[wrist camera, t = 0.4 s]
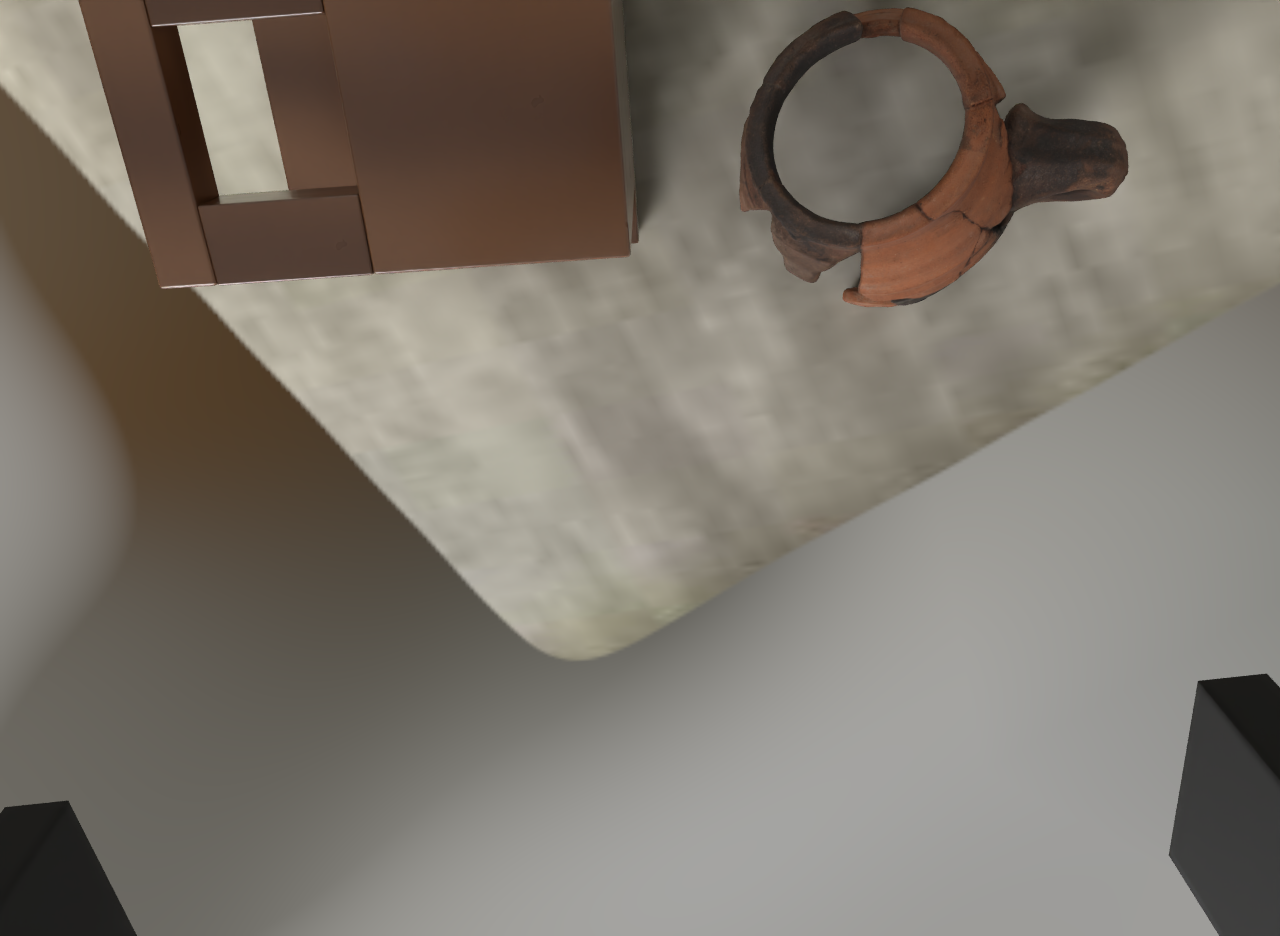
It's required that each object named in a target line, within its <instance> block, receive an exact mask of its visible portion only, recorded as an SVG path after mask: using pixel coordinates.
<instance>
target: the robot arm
mask: <svg viewBox="0 0 1280 936" xmlns="http://www.w3.org/2000/svg"><path fill="white" fill-rule="evenodd" d="M1169 856H1170V858H1171V859H1172V861H1173V863H1174V864H1175V866H1176V867H1177V869H1178V870H1179V872H1180V874H1181V875H1182V877H1183V878H1184V880H1185V882H1186V883H1187V885H1188V886H1189V888H1190V890H1191V891H1192V893H1193V894H1194V896H1195V897H1196V899H1197V901H1198V902H1199V904H1200V906H1201V907H1202V909H1203V910H1204V912H1205V913H1206V915H1207V917H1208V918H1209V920H1210V921H1211V923H1212V925H1213V926H1214V928H1215V930H1216V931H1217V933H1218V934H1219V936H1280V687H1279V686H1278V685H1277V684H1276V683H1275V682H1274V681H1273V680H1272V679H1271V678H1270V677H1269V675H1267V674H1259V675H1249V676H1240V677H1231V678H1221V679H1212V680H1202V681H1198V684H1197V690H1196V697H1195V703H1194V708H1193V714H1192V720H1191V726H1190V732H1189V739H1188V744H1187V751H1186V756H1185V762H1184V768H1183V774H1182V780H1181V786H1180V792H1179V798H1178V804H1177V809H1176V815H1175V821H1174V827H1173V833H1172V839H1171V845H1170V852H1169ZM0 936H137V935H136V933H135V931H134V929H133V927H132V925H131V923H130V921H129V920H128V917H127V915H126V913H125V911H124V909H123V907H122V905H121V904H120V902H119V900H118V898H117V896H116V894H115V892H114V890H113V888H112V886H111V884H110V882H109V880H108V878H107V876H106V874H105V872H104V870H103V868H102V866H101V864H100V862H99V860H98V859H97V856H96V854H95V852H94V850H93V849H92V847H91V845H90V843H89V841H88V839H87V837H86V835H85V833H84V831H83V829H82V827H81V825H80V823H79V821H78V819H77V817H76V815H75V813H74V811H73V809H72V807H71V805H70V803H69V801H60V802H51V803H42V804H32V805H22V806H13V807H5V808H4V809H3V811H2V812H1V813H0Z"/></svg>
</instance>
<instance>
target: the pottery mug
mask: <svg viewBox="0 0 1280 936" xmlns="http://www.w3.org/2000/svg"><path fill="white" fill-rule="evenodd" d="M878 36H897V37H901V38H902V39H903V40H904V41H907V42H910V43H913V44H916V45H918V46H921V47H923V48H925V49H927V50H928V51H930V52H931V53H933V54H934V55H936V56H937V57H938V58H939V59H940V60H941V61H942V62H943V63H944V64H945V65H946V66H947V67H948V68H949V70H950V71H951V73H952V74H953V76H954V78H955V79H956V81H957V83H958V86H959V88H960V91H961V94H962V100H963V105H964V109H965V126H964V132H963V137H962V141H961V143H960V146H959V150H958V152H957V155H956V157H955V159H954V161H953V163H952V164H951V166H950V168H949V169H948V171H947V172H946V174H945V175H944V176H943V178H942V179H941V180H940V181H939V183H938V184H937V185H936V186H935V187H934V188H933V189H932V190H931V191H930V192H929V193H928V194H927V195H925V196H924V197H923V198H922V199H920V200H919V201H918V202H917V203H915V204H913V205H911V206H910V207H908V208H906V209H904V210H902V211H901V212H898V213H896V214H894V215H891V216H888V217H885V218H882V219H877V220H872V221H866V222H862V223H859V224H856V223H845V222H838V221H834V220H829V219H826V218H823V217H821V216H818V215H816V214H814V213H813V212H811V211H809V210H808V209H806V208H805V207H803V206H802V205H801V204H799V203H798V202H797V201H796V200H795V199H794V198H793V196H792V195H791V194H790V193H789V192H788V191H787V190H786V188H785V187H784V185H782V183H781V180H780V178H779V175H778V172H777V169H776V165H775V161H774V153H773V139H774V131H775V125H776V121H777V118H778V114H779V112H780V109H781V107H782V105H783V102H784V100H785V99H786V97H787V96H788V94H789V93H790V91H791V90H792V89H793V87H794V86H795V84H796V83H797V82H798V80H799V79H800V78H801V77H802V76H803V75H804V74H805V72H806V71H807V70H808V69H809V68H810V67H811V66H813V65H814V64H815V63H816V62H817V61H819V60H820V59H822V58H824V57H826V56H827V55H829V54H830V53H832V52H834V51H835V50H837V49H839V48H841V47H843V46H846V45H848V44H851V43H853V42H856V41H857V40H859V39H860V38H873V37H878ZM1005 97H1006V94H1005V91H1004V89H1003V87H1002V85H1001V83H1000V82H999V80H998V79H997V77H996V75H995V74H994V73H993V71H992V70H991V68H990V67H989V66H988V65H987V64H986V63H985V62H984V60H983V58H982V57H981V56H980V55H979V53H978V52H977V51H975V49H974V47H973V46H972V45H971V43H970V42H969V40H968V39H967V38H966V37H965V36H964V35H962V34H961V33H960V32H959V31H958V30H957V29H956V28H955V27H953V26H951V25H950V24H948V23H947V22H946V21H945V20H944V19H943V18H941V17H939V16H935V15H933V14H930V13H927V12H924V11H921V10H918V9H914V8H909V7H907V8H905V9H897V8H891V9H878V10H871V11H865V12H861V13H858V14H852V13H850V12H847V11H841V12H838V13H836V14H834V15H832V16H830V17H828V18H826V19H824V20H822V21H820V22H819V23H817V24H815V25H814V26H812V27H811V28H810V29H809V30H808V31H806V32H805V33H803V34H802V35H801V36H799V37H798V38H796V39H795V40H794V41H793V42H791V43H790V44H789V45H788V46H787V47H786V48H785V49H784V51H783V52H782V53H781V54H780V55H779V56H778V57H777V58H776V60H775V62H774V63H773V64H772V66H771V67H770V69H769V71H768V72H767V74H766V76H765V77H764V80H763V84H762V86H761V87H760V88H759V89H758V91H757V93H756V96H755V99H754V101H753V103H752V105H751V107H750V114H749V116H748V118H747V120H746V122H745V125H744V131H743V136H742V142H741V169H740V189H739V195H740V204H741V210H742V211H743V212H746V211H749V210H760V209H761V210H768V211H770V212H771V214H772V223H771V232H772V235H773V241H774V244H775V246H776V247H777V249H778V250H779V251H780V252H781V254H782V255H783V258H784V265H785V267H786V269H787V270H788V271H789V272H790V273H792V274H794V275H796V276H797V277H799V278H801V279H803V280H804V281H806V282H810V283H814V282H816V281H817V280H818V278H819V276H820V273H821V272H823V271H826V270H828V269H830V268H832V267H833V266H834V265H835V264H837V263H838V262H840V261H842V260H844V259H846V258H848V257H850V256H852V255H854V254H856V253H858V252H860V253H861V277H860V283H859V286H858V287H853V288H848V289H846V290H845V291H844V293H843V300H844V301H845V302H848V303H851V304H855V305H859V306H864V307H876V306H877V307H892V306H897V305H909V304H913V303H917V302H920V301H922V300H924V299H926V298H927V297H929V296H931V295H933V294H935V293H937V292H938V291H940V290H942V289H943V288H945V287H946V286H948V285H949V284H951V283H952V282H954V281H956V280H957V279H958V278H959V277H960V276H961V275H963V274H964V273H965V272H967V271H968V270H969V269H970V268H971V267H972V266H974V265H975V264H976V263H977V262H978V261H979V260H980V259H981V258H982V257H983V256H984V255H985V254H986V253H987V252H988V251H989V250H990V249H991V248H992V247H993V245H994V244H995V243H996V242H997V240H998V239H999V237H1000V236H1001V234H1002V233H1003V231H1004V229H1005V228H1006V226H1007V224H1008V223H1009V221H1010V219H1011V217H1012V216H1013V213H1014V212H1015V211H1017V210H1019V209H1020V208H1022V207H1025V206H1028V205H1030V204H1033V203H1037V202H1050V201H1082V200H1092V199H1101V198H1106V197H1110V196H1111V195H1112V194H1113V193H1114V192H1115V191H1116V190H1117V188H1118V187H1119V185H1120V184H1121V183H1122V182H1123V181H1124V179H1125V176H1126V175H1127V174H1128V153H1127V150H1126V144H1125V142H1124V141H1123V139H1122V138H1121V136H1120V134H1119V132H1118V131H1117V130H1116V129H1115V128H1114V127H1112V126H1111V125H1108V124H1106V123H1101V122H1097V121H1086V120H1079V119H1049V118H1045V117H1042V116H1039V115H1037V114H1036V113H1034V112H1033V111H1032V110H1031V109H1030V108H1029V107H1028V106H1027V105H1025V104H1023V103H1019V104H1016V105H1015V106H1014V107H1013V108H1012V109H1011V110H1010V111H1009V113H1008V114H1007V116H1006V118H1005V120H1004V121H1003V119H1001V118H1000V117H999V114H998V112H997V109H996V107H995V106H996V105H997V104H998V103H1000V102H1001V101H1002V100H1003V99H1004V98H1005Z"/></svg>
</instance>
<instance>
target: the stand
mask: <svg viewBox="0 0 1280 936" xmlns="http://www.w3.org/2000/svg"><path fill="white" fill-rule="evenodd" d="M79 4H80V7H81V11H82V14H83V18H84V22H85V25H86V29H87V32H88V36H89V39H90V43H91V46H92V50H93V53H94V57H95V60H96V64H97V67H98V71H99V74H100V78H101V82H102V85H103V89H104V92H105V96H106V99H107V103H108V106H109V110H110V113H111V117H112V120H113V124H114V127H115V131H116V134H117V138H118V141H119V145H120V149H121V152H122V156H123V159H124V163H125V166H126V170H127V173H128V177H129V180H130V184H131V187H132V191H133V194H134V198H135V201H136V205H137V209H138V212H139V216H140V219H141V223H142V226H143V230H144V233H145V237H146V240H147V244H148V247H149V251H150V254H151V258H152V261H153V265H154V268H155V272H156V276H157V279H158V283H159V286H160V288H163V289H168V288H184V287H198V286H213V285H216V284H218V285H232V284H247V283H261V282H275V281H290V280H304V279H319V278H333V277H348V276H362V275H372V274H374V273H375V274H388V273H402V272H417V271H431V270H446V269H460V268H475V267H489V266H504V265H518V264H532V263H547V262H561V261H576V260H590V259H605V258H619V257H628V256H630V253H631V244H632V243H638V241H639V227H638V213H637V199H636V185H635V170H634V156H633V142H632V128H631V114H630V100H629V86H628V71H627V57H626V43H625V29H624V15H623V1H622V0H79ZM245 20H252V22H253V27H254V32H255V36H256V41H257V45H258V50H259V55H260V59H261V64H262V68H263V73H264V78H265V82H266V87H267V91H268V96H269V101H270V105H271V110H272V114H273V119H274V124H275V128H276V133H277V137H278V142H279V147H280V151H281V156H282V160H283V165H284V170H285V174H286V179H287V183H288V188H289V190H286V191H272V192H259V193H245V194H231V195H221V196H219V194H218V190H217V186H216V182H215V178H214V174H213V170H212V166H211V162H210V158H209V154H208V150H207V146H206V142H205V138H204V133H203V129H202V125H201V121H200V117H199V113H198V109H197V105H196V101H195V97H194V93H193V89H192V85H191V81H190V77H189V73H188V69H187V65H186V61H185V57H184V53H183V49H182V45H181V41H180V36H179V32H178V28H177V26H181V25H194V24H207V23H219V22H232V21H245Z"/></svg>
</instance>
